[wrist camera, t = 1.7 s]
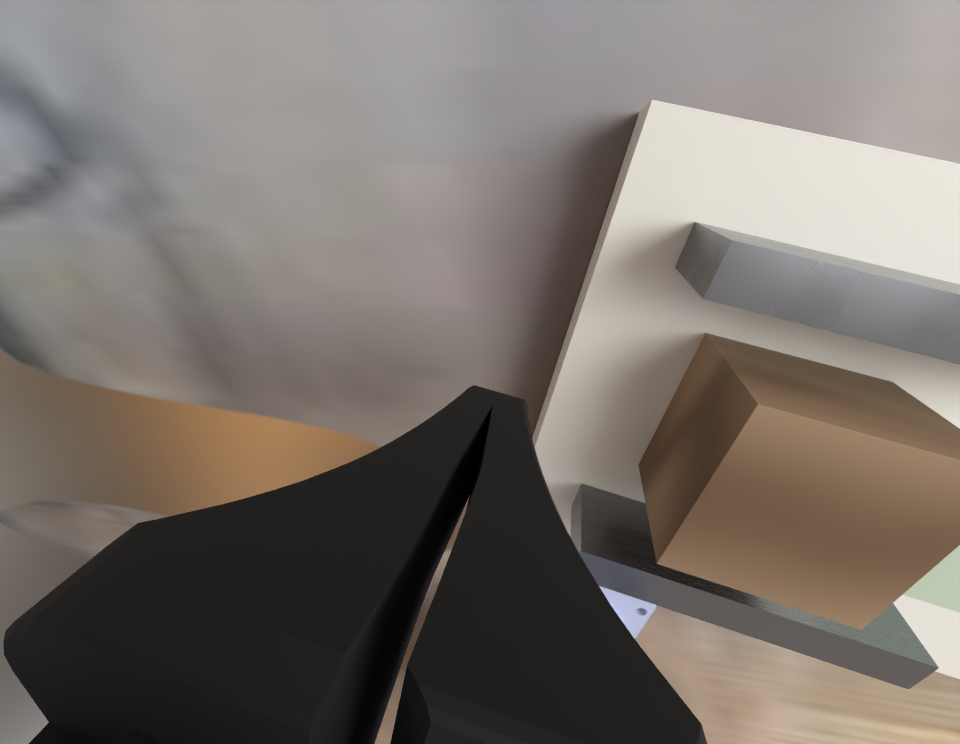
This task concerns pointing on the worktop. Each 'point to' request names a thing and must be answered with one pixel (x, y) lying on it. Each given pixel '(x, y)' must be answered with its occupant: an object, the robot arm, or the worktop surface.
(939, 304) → the channel walls
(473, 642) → the robot arm
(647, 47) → the worktop surface
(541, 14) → the worktop surface
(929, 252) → the channel board
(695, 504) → the walnut block
